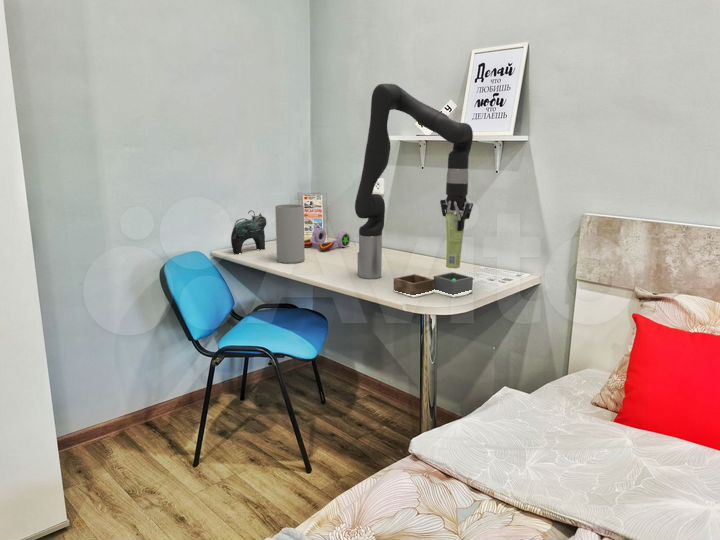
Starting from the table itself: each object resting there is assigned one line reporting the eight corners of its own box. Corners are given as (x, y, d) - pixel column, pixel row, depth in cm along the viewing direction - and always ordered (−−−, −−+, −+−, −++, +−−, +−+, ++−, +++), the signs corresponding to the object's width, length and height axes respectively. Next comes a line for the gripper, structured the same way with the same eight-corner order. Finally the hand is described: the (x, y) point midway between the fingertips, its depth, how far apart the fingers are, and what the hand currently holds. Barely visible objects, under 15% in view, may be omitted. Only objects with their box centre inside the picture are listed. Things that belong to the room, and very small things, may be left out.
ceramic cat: (262, 247, 286) (260, 208, 281) (270, 249, 281) (268, 209, 277) (229, 253, 271) (227, 212, 266) (238, 255, 267) (236, 213, 262)
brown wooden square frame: (393, 291, 207) (393, 278, 206) (414, 286, 214) (414, 274, 212) (413, 297, 199) (413, 284, 198) (434, 292, 206) (434, 279, 204)
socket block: (432, 292, 207) (433, 273, 205) (451, 287, 213) (452, 269, 211) (453, 298, 199) (454, 279, 197) (472, 293, 205) (473, 274, 203)
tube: (451, 264, 208) (454, 212, 203) (463, 266, 204) (466, 213, 200) (443, 267, 204) (445, 213, 199) (455, 269, 200) (458, 215, 196)
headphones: (351, 231, 288) (325, 232, 272) (350, 250, 289) (323, 252, 273) (323, 227, 300) (296, 227, 284) (321, 246, 301) (295, 247, 285)
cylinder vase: (274, 258, 260) (273, 204, 254) (301, 257, 264) (300, 204, 258) (279, 264, 249) (278, 208, 243) (307, 262, 252) (306, 207, 246)
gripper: (435, 180, 200) (433, 228, 204) (465, 183, 189) (462, 233, 193) (449, 179, 204) (447, 226, 208) (480, 182, 193) (477, 231, 197)
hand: (455, 229), depth 201 cm, fingers closed on tube, 4 cm apart
